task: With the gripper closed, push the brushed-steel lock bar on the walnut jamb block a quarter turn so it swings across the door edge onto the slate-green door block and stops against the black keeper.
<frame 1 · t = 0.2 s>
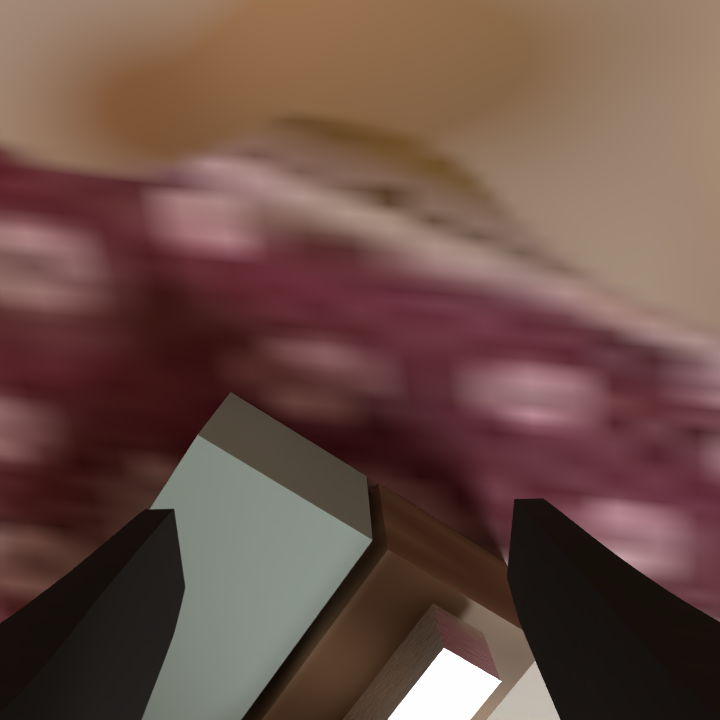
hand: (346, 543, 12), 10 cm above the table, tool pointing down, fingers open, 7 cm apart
jamb: (343, 656, 24), on the table
door: (203, 577, 23), on the table
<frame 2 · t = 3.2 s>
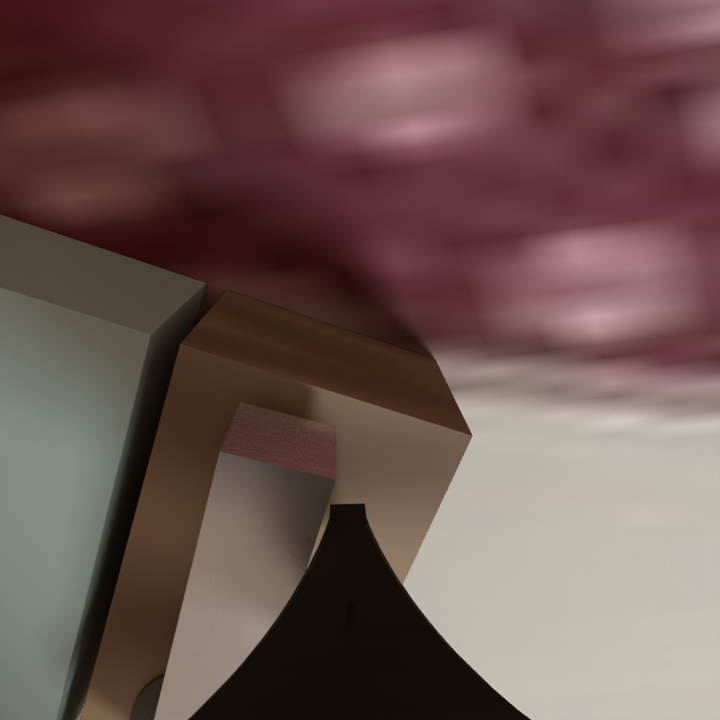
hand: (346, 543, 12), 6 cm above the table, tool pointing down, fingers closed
jamb: (262, 528, 19), on the table
door: (48, 469, 18), on the table
lock bar: (219, 667, 12), point 7 cm above the table, hinge at 3.1°, touching gripper
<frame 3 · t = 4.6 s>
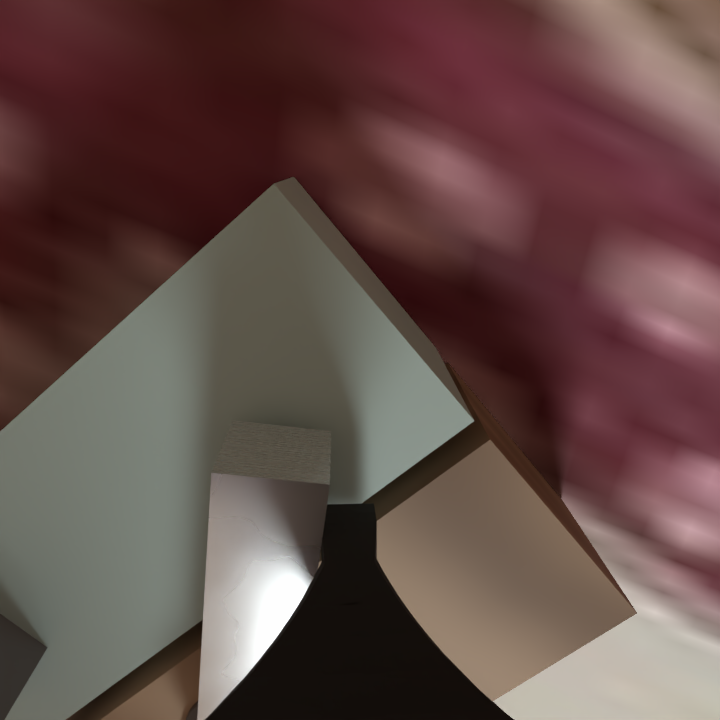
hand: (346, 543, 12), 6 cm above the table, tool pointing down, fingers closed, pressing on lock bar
jamb: (330, 561, 19), on the table
door: (182, 422, 17), on the table
lock bar: (253, 682, 12), point 7 cm above the table, hinge at 42.5°, touching gripper
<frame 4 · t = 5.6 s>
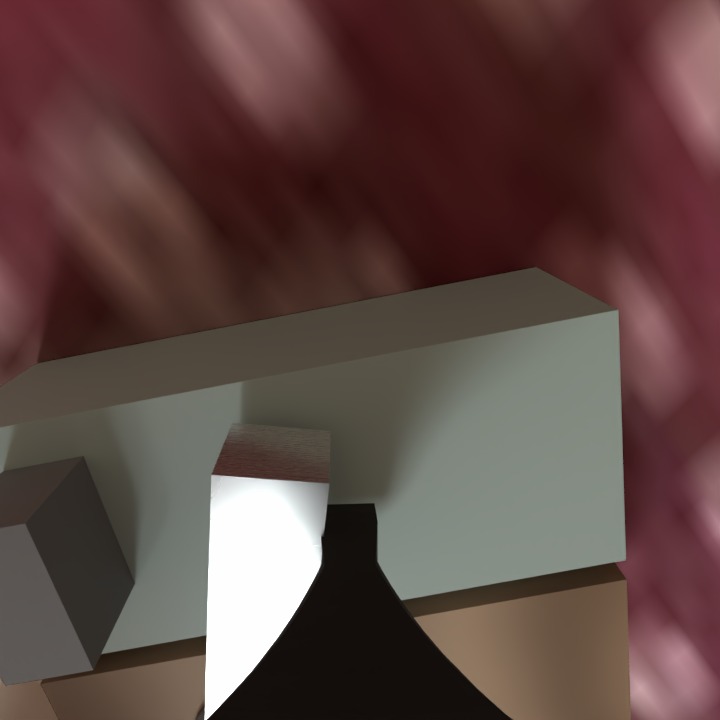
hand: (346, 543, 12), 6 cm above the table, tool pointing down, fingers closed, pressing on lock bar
jamb: (349, 590, 20), on the table
door: (306, 413, 17), on the table
lock bar: (259, 682, 12), point 7 cm above the table, hinge at 73.1°, touching gripper
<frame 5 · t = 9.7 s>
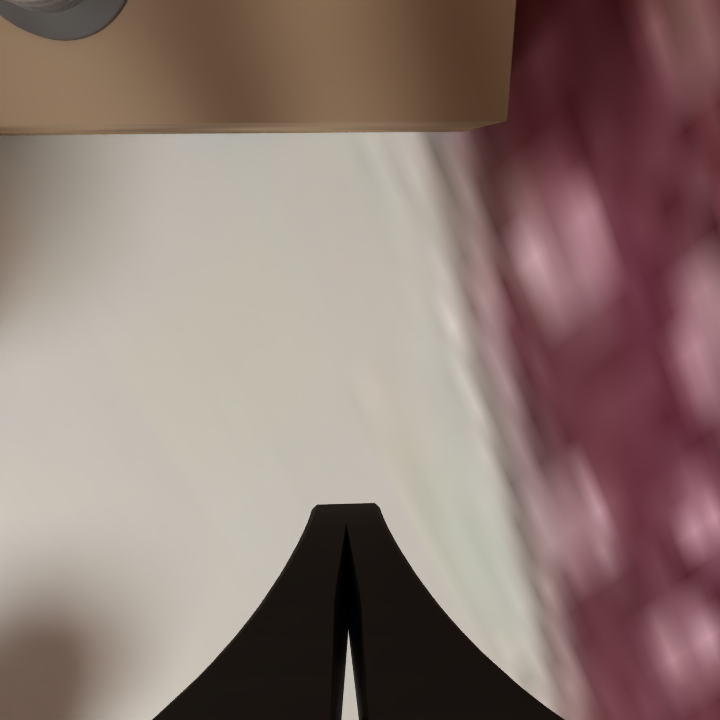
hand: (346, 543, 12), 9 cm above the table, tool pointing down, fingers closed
jamb: (218, 15, 17), on the table
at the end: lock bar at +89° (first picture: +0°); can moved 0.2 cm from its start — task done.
